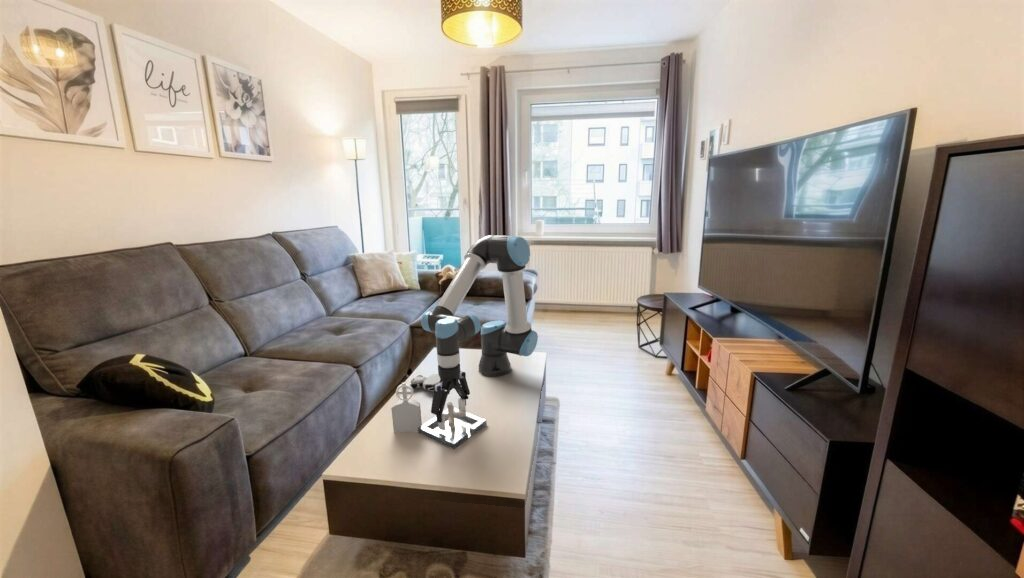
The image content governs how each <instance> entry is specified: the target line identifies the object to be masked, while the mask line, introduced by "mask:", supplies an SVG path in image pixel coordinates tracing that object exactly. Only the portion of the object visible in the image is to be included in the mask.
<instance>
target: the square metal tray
mask: <svg viewBox="0 0 1024 578" xmlns="http://www.w3.org/2000/svg"><path fill="white" fill-rule="evenodd" d="M454 412H459V408H456V407H454ZM443 413H444V414H445V413H448V408H447V409H446V410H443ZM454 421H455V429H450V427H449V426H448V419H445V429H446V430H445V431H443V430H441V429H438V422H437V419H436V416H434V417H432V418H430V419H429V420H428V421H426V422H424V423H423V424H422V426H420V427H418V431H417V432H418V434H419V435H422V436H424V437H426V438H428V439H431V440H434V441H435V442H437V443H439V444H442V445H444V446H446V447H449V448H451V449H453V450H455V449H456V448H458V447H459V446H461V445H462V444H464V442H466V441H467V440H469V439H470V438H472V436H474V435H475V434H476V433H478V432H479V431H481V430H482V429H483V428H485V427H486V426H487V419H485V418H484V417H483V418H482V417H480V416H477V415H474V414H472V413H470V412H467V411H466V416H465V417H457V418H454Z"/></svg>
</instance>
